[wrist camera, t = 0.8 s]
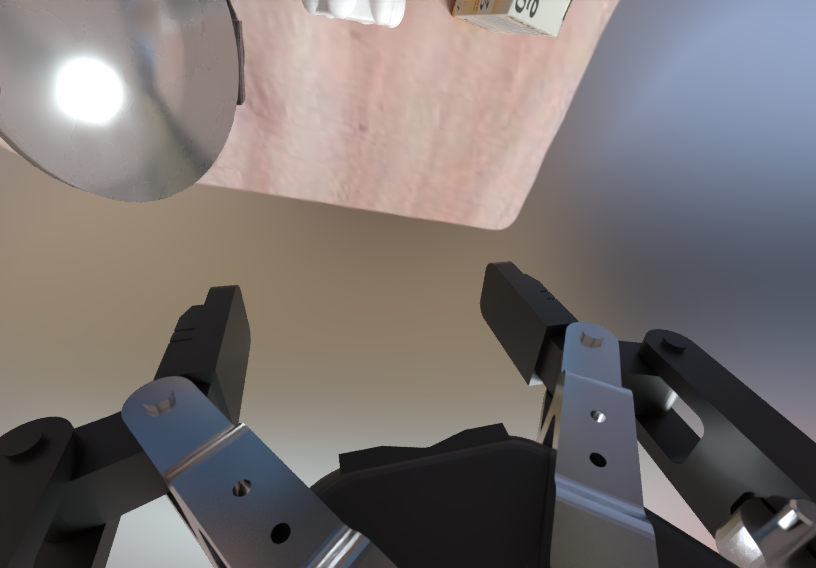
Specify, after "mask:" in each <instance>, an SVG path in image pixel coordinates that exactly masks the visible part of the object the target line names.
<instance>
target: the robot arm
mask: <svg viewBox="0 0 816 568" xmlns="http://www.w3.org/2000/svg"><path fill="white" fill-rule="evenodd" d="M480 307H481V313H482V315H483V318H484V319H485V321H486V322H487V324H488V325H489V327H490V328H491V330H492V331H493V333H494V334H495V336H496V337H497V339H498V340H499V342H500V343H501V345H502V346H503V348H504V349H505V351H506V352H507V354H508V355H509V357H510V358H511V360H512V361H513V363H514V364H515V366H516V367H517V369H518V370H519V372H520V373H521V375H522V376H523V378H524V379H525V381H526V383H527V384H528V386H532V385H538V384H544V385H545V386H546V390H545V393H544V396H543V403H542V409H541V415H540V421H539V427H538V433H537V439H536V441H533V440H530V439H526V438H523V437H517V436H510V435H508V433H507V431H506V429H505V427H504V425H503V423H499V424H494V425H488V426H483V427H478V428H473V429H467V430H464V431H462V432H460V433H458V434H456V435H454V436H451V437H450V438H447V439H445V440H443V441H441V442H439V443H437V444H435V445H433V446H431V447H427V448H417V447H416V448H415V447H393V446H379V447H374V448H369V449H364V450H358V451H354V452H348V453H343V454H339V463H340V468H339V469H337V470H335V471H333V472H331V473H329V474H328V475H326V476H325V477H323V478H321V479H320V480H319V481H317V482H316V483H315V484H314V485H312V486H311V487H310V488H308V487H307V486H306V485H305V484H304V483H303V482H302V481H301V480H300V479H299V478H298V477H297V476H296V475H295V474H294V473H293V472H292V471H291V470H290V469H289V468H288V467H287V466H286V465H285V464H284V463H283V462H282V461H281V460H280V459H279V458H278V457H277V456H276V455H275V454H274V453H273V452H272V451H271V450H270V449H269V448H268V447H267V446H266V445H265V444H264V443H263V442H262V441H261V440H260V439H259V438H258V437H257V436H256V435H255V434H254V433H253V432H252V431H251V430H250V429H249V428H248V427H247V426H246V425H245V424H243V423H239V424H238V422H239V416H240V409H241V403H242V396H243V390H244V383H245V377H246V370H247V364H248V357H249V351H250V342H251V341H250V340H251V338H250V328H249V323H248V319H247V315H246V310H245V306H244V302H243V298H242V293H241V290H240V287H239V286H238V285H230V286H219V287H211V288H210V290H209V292H208V295H207V298H206V301H205V303H204V305H196V306H192V307H191V308H189V309H188V310H187V311H186V312H185V313H184V314H183V315H182V316H181V317H180V318H179V320H178V323H177V325H176V328H175V330H174V331H175V333H173V335H172V337H171V339H170V343H169V344H168V347H167V349H166V351H165V354H164V356H163V358H162V361H161V363H160V366H159V368H158V370H157V373H156V375H155V377H154V380H153V381H152V382H149V383H147V384H145V385H144V386H142V387H140V388H139V389H137V390H136V391H135V392H134V393H133V394H132V395H130V396H129V398H128V399H127V400H126V402H125V403H124V405H123V407H122V411H120V412H118V413H115V414H113V415H111V416H108V417H105V418H102V419H100V420H97V421H94V422H91V423H88V424H86V425H83V426H80V427H78V428H75V429H74V427H73V426H72V424H71V423H70V422H69V421H68V420H67V419H64V418H61V417H46V418H40V419H36V420H33V421H30V422H27V423H25V424H22V425H20V426H18V427H16V428H14V429H12V430H11V431H9V432H7V433H6V434H4V435H3V436H1V437H0V568H105V567H106V563H107V560H108V557H109V553H110V550H111V547H112V544H113V540H114V537H115V534H116V531H117V527H118V524H119V521H120V517H121V515H123V514H125V513H127V512H129V511H131V510H134V509H136V508H138V507H140V506H142V505H144V504H146V503H148V502H150V501H153V500H155V499H157V498H159V497H161V496H163V495H166V496H167V498H168V499H169V501H170V502H171V504H172V505H173V506H174V508H175V510H176V511H177V513H178V514H179V515H180V517H181V518H182V520H183V521H184V523H185V524H186V526H187V527H188V529H189V530H190V532H191V533H192V534H193V536H194V537H195V539H196V540H197V542H198V543H199V545H200V546H201V548H202V549H203V551H204V552H205V554H206V555H207V557H208V559H209V560H210V562H211V564H212V565H213V567H214V568H816V443H815V442H814V441H813V440H811V439H810V438H809V437H808V436H807V435H805V434H804V433H803V432H802V431H801V430H799V429H798V428H797V427H796V426H794V425H793V424H792V423H791V422H790V421H788V420H787V419H786V418H785V417H783V416H782V415H781V414H780V413H779V412H778V411H776V410H775V409H774V408H773V407H771V406H770V405H769V404H768V403H767V402H765V401H764V400H763V399H762V398H761V397H759V396H758V395H757V394H756V393H755V392H753V391H752V390H751V389H749V388H748V387H747V386H746V385H745V384H744V383H742V382H741V381H740V380H739V379H737V378H736V377H735V376H734V375H732V374H731V373H730V372H729V371H728V370H727V369H725V368H724V367H723V366H722V365H721V364H719V363H718V362H717V361H716V360H714V359H713V358H712V357H711V356H710V355H708V354H707V353H706V352H705V351H704V350H702V349H701V348H700V347H699V346H698V345H696V344H695V343H694V342H692V341H691V340H690V339H688V338H686V337H684V336H682V335H680V334H678V333H675V332H672V331H668V330H662V329H655V330H650V331H648V332H647V333H646V335H645V337H644V339H643V341H642V343H636V342H625V341H618V340H617V338H616V337H615V336H614V335H613V334H612V333H611V332H610V331H608V330H606V329H605V328H603V327H601V326H599V325H596V324H593V323H589V322H579V321H578V320H577V319H576V318H575V317H574V316H573V315H572V314H571V313H570V312H569V311H568V310H567V309H566V308H565V307H564V306H563V305H562V304H561V303H560V302H559V301H558V300H557V299H555V297H554V296H553V295H552V294H551V293H550V292H548V290H547V289H546V288H545V287H544V286H543V285H542V284H541V283H540V282H539V281H538V280H536V279H534V278H532V277H530V276H529V275H527V274H523V273H522V272H521V271H520V270H519V269H518V268H517V267H516V266H515V265H514V264H513V263H512V262H510V261H508V262H497V263H490V264H488V266H487V267H486V271H485V277H484V283H483V288H482V294H481V300H480ZM678 396H680V398H681V399H682V400H683V401H684V402H685V403H686V404H687V405H688V406H689V407H690V408H691V409H692V410H693V411H694V412H695V413H696V414H697V415H698V416H699V417H700V419H701V421H702V423H703V426H704V435H703V437H702V439H701V438H700V437H699V436H698V435H697V434H696V433H695V432H694V431H693V430H692V429H691V428H690V427H689V426H688V425H687V423H686V422H685V421H684V420H683V419H682V418H681V417H680V416H679V415H678V414H677V413H676V412H675V411H674V410H673V409H672V405H673V404H674V402H675V401H676V399H677V397H678ZM637 440H638V441H639V442H640V444H641V445H642V446H643V447H644V449H645V450H646V451H647V453H648V454H649V455H650V456H651V458H652V459H653V460H654V462H655V463H656V464H657V465H658V467H659V468H660V469H661V470H662V472H663V473H664V475H665V476H666V477H667V478H668V480H669V481H670V482H671V483H672V485H673V486H674V487H675V489H676V490H677V491H678V492H679V494H680V495H681V496H682V498H683V499H684V500H685V502H686V503H687V504H688V505H689V507H690V508H691V509H692V511H693V512H694V513H695V514H696V516H697V517H698V518H699V520H700V521H701V522H702V523H703V525H704V526H705V527H706V529H707V530H708V531H709V532H710V534H711V535H712V536H713V538H714V539H715V541H716V546H717V549H718V551H719V553H720V554H719V553H717V552H715V551H714V550H712V549H710V548H709V547H707V546H706V545H704V544H702V543H701V542H699V541H698V540H696V539H695V538H693V537H691V536H690V535H688V534H686V533H685V532H684V531H682V530H680V529H679V528H677V527H675V526H674V525H672V524H671V523H669V522H668V521H666V520H664V519H663V518H661V517H660V516H658V515H656V514H655V513H653V512H652V511H650V510H648V509H647V508H645V507H644V505H643V495H642V485H641V474H640V464H639V454H638V444H637Z"/></svg>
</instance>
